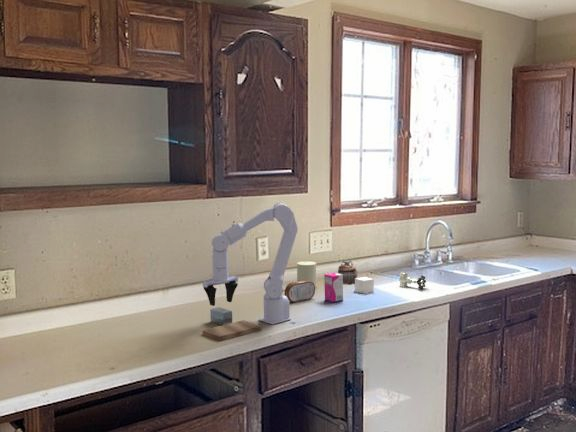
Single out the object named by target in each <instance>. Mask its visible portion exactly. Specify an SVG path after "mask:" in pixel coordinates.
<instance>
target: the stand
mask: <svg viewBox="0 0 576 432" xmlns="http://www.w3.org/2000/svg"><path fill="white" fill-rule="evenodd" d="M261 330H262V326H261V325H259V324H256V323H253V322H250V321H248V320H245V319H243V320H240V321H233V322H232V323H230V324H226V325H222V326H221V325H218V326H214V327H210V328H206V329H203V330H202V335H203V336H205V337H209V338H211V339H213V340H215V341H218V342H222V341H225V340H229V339H233V338H236V336H237V337H240V336H244V335H247V334H251V333H255V332H259V331H261ZM232 337H233V338H232ZM228 338H229V339H228Z"/></svg>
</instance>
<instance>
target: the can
mask: <svg viewBox="0 0 576 432" xmlns="http://www.w3.org/2000/svg"><path fill="white" fill-rule="evenodd" d="M303 280H309V281H311V282H313V283H314V285H315V289H316V288H317V262H315V261H310V260H309V261H307V260H306V261H298V262H296V281H303Z"/></svg>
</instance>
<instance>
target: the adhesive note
mask: <svg viewBox="0 0 576 432" xmlns="http://www.w3.org/2000/svg"><path fill="white" fill-rule="evenodd" d="M374 284H375V283H374V279H373V278H371V277H367V276H362V277H361V276H360V277H357V278H355V283H354V292H357V293H359V294H369V293H374V287H375V286H374Z"/></svg>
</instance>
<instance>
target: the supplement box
mask: <svg viewBox="0 0 576 432" xmlns="http://www.w3.org/2000/svg"><path fill="white" fill-rule="evenodd" d="M323 279H324V301H326V302H329V303H332V304H334V303H339V302H344V287H343V286H344V283H343V275H342V274H338V272H337V273H336V272H331V273H324V278H323Z"/></svg>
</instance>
